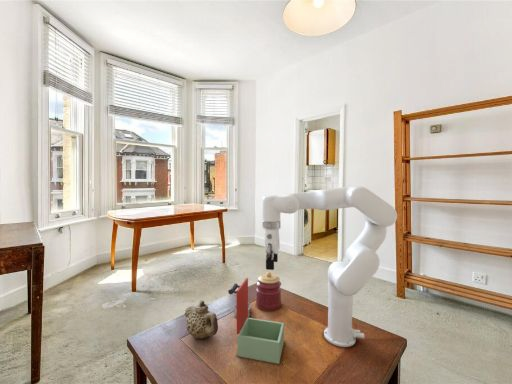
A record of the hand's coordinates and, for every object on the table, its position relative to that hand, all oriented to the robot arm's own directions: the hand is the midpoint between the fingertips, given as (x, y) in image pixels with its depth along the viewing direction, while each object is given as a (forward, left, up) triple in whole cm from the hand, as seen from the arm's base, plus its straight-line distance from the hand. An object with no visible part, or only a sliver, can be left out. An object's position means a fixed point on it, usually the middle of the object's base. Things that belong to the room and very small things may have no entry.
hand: (272, 265), depth 103 cm
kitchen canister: (+6, -24, -30) cm, 39 cm away
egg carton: (+17, -13, -30) cm, 37 cm away
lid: (+9, +10, -13) cm, 19 cm away
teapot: (+28, +9, -30) cm, 42 cm away
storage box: (+2, +10, -30) cm, 31 cm away
